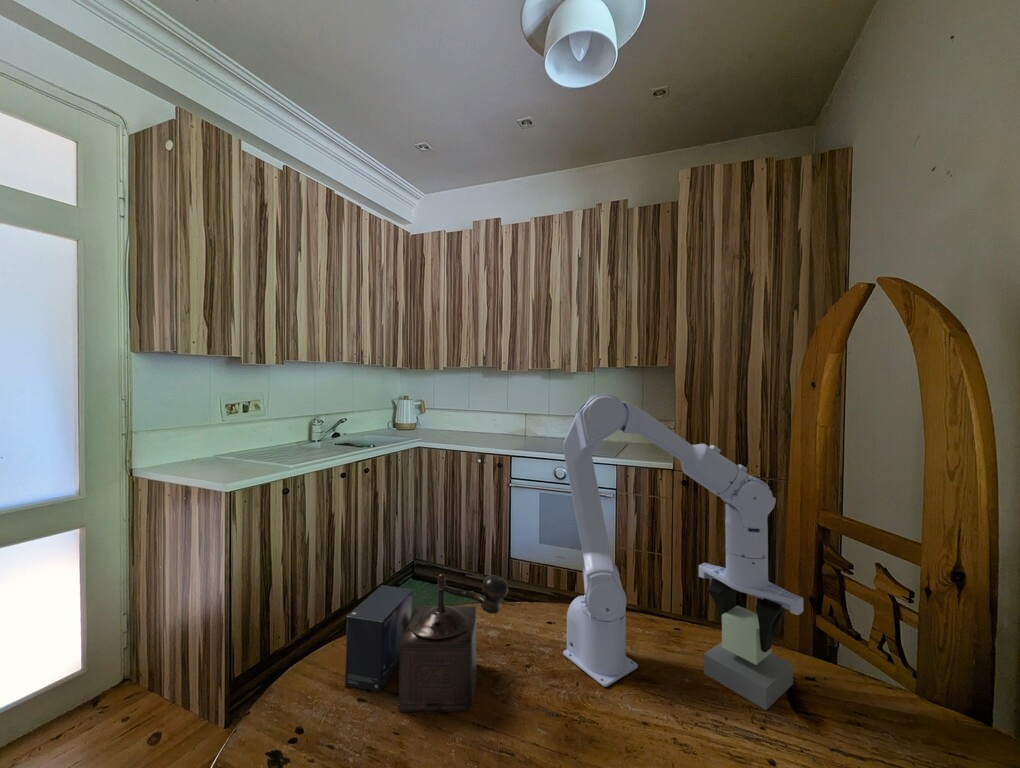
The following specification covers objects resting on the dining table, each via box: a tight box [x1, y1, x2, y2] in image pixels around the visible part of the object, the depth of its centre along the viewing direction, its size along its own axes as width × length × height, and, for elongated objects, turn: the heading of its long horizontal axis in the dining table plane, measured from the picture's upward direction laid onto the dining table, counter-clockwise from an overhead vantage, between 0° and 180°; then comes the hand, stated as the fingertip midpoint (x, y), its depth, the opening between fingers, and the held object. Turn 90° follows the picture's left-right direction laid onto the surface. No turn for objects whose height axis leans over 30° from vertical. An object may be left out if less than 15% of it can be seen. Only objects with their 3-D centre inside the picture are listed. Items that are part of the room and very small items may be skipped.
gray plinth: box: [703, 641, 794, 711], centre depth 62 cm, size 9×9×3 cm
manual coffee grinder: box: [398, 573, 509, 714], centre depth 60 cm, size 16×11×18 cm
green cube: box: [721, 605, 773, 665], centre depth 62 cm, size 5×5×5 cm
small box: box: [344, 584, 413, 692], centre depth 65 cm, size 11×6×10 cm, turn 168°
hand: (747, 640), depth 62 cm, fingers closed on green cube, 5 cm apart
